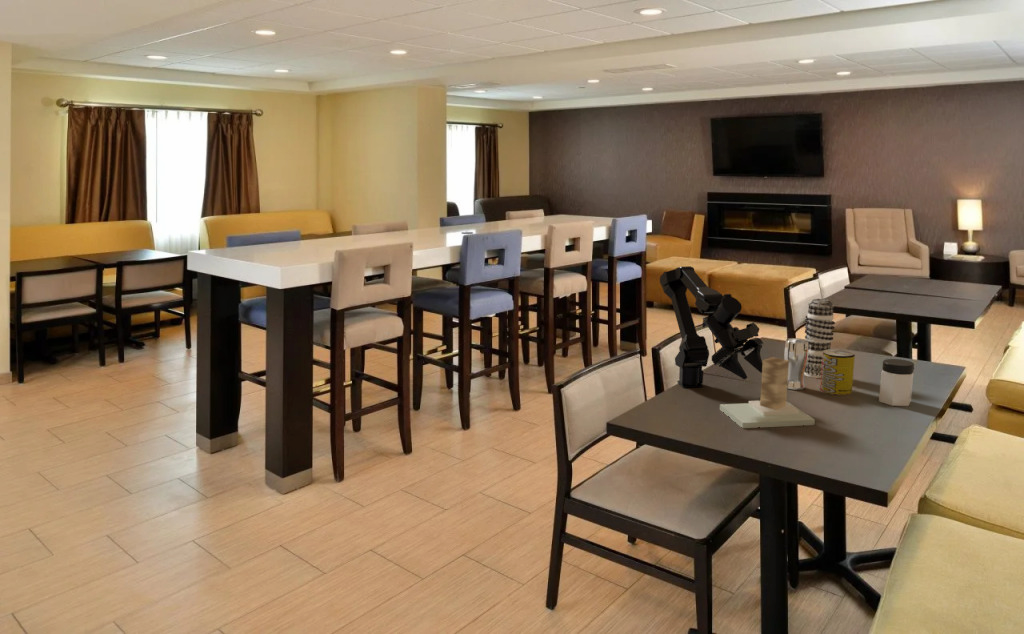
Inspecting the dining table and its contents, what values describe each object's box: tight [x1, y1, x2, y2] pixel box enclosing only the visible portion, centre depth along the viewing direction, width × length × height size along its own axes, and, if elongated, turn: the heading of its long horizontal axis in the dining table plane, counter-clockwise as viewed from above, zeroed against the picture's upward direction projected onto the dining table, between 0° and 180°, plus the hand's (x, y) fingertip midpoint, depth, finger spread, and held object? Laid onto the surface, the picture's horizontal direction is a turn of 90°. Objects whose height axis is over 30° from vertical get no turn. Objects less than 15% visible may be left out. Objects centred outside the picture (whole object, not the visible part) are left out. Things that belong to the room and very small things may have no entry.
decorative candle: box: [804, 298, 836, 379], centre depth 252 cm, size 9×9×25 cm
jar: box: [878, 358, 915, 407], centre depth 224 cm, size 9×8×12 cm
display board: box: [719, 400, 816, 429], centre depth 213 cm, size 20×16×2 cm
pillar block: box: [759, 356, 789, 410], centre depth 213 cm, size 5×5×13 cm
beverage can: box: [819, 348, 856, 396], centre depth 236 cm, size 9×9×12 cm
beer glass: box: [783, 337, 809, 391], centre depth 239 cm, size 7×7×15 cm
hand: (754, 375), depth 218 cm, fingers open, 9 cm apart
